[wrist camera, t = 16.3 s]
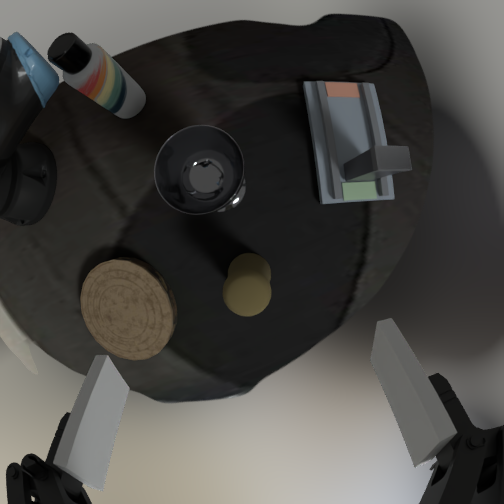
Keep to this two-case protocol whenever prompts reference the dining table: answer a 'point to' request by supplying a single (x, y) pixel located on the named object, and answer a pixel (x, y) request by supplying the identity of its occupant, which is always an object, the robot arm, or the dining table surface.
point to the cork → (247, 285)
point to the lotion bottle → (96, 75)
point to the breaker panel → (345, 138)
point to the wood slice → (128, 308)
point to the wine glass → (200, 171)
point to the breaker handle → (378, 163)
